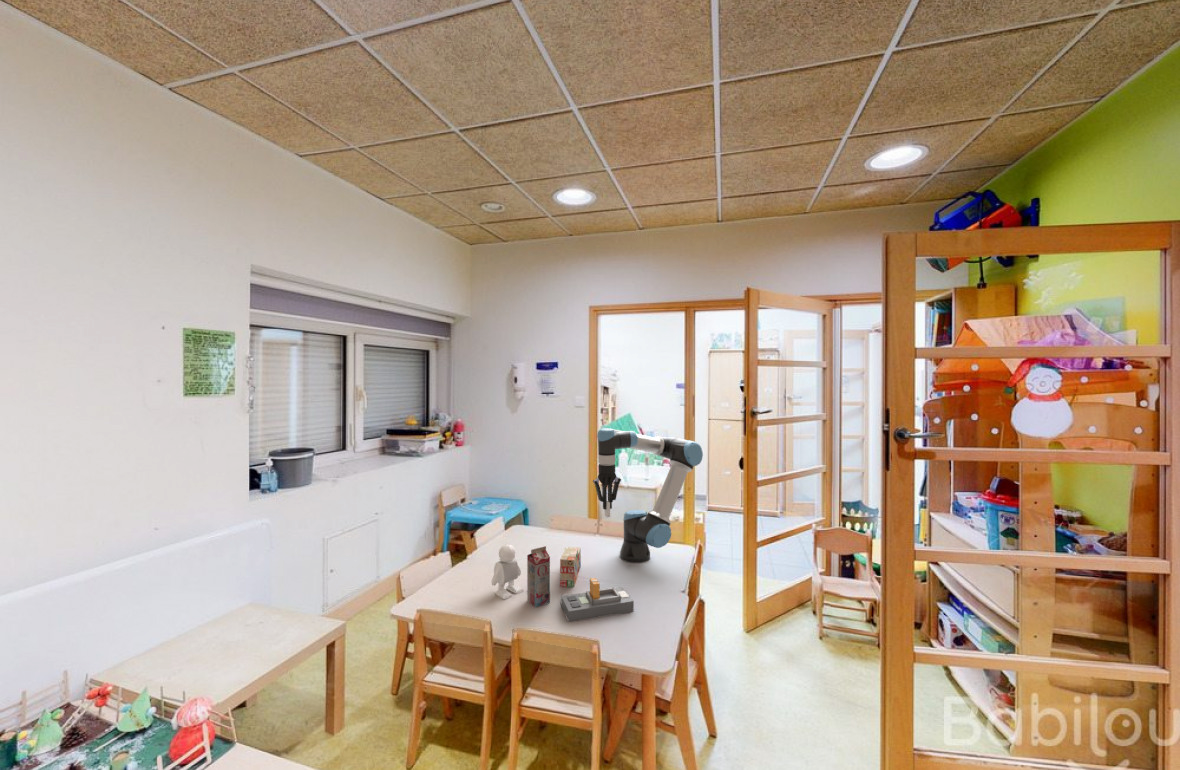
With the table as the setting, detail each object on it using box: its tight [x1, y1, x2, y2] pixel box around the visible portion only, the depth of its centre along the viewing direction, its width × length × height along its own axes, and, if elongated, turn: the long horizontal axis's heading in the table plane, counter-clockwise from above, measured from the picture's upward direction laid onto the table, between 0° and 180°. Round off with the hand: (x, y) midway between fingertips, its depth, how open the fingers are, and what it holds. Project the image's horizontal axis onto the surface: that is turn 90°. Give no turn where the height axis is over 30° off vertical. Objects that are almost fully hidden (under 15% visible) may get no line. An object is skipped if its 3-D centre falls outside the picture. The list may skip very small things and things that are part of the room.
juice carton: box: [526, 545, 551, 608], centre depth 184 cm, size 7×7×22 cm
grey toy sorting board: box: [560, 587, 635, 623], centre depth 179 cm, size 26×12×6 cm, turn 107°
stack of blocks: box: [559, 546, 582, 588], centre depth 207 cm, size 21×6×12 cm, turn 173°
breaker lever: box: [589, 577, 601, 599], centre depth 178 cm, size 2×5×7 cm, turn 17°
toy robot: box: [491, 543, 524, 600], centre depth 192 cm, size 14×9×20 cm, turn 137°
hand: (607, 516), depth 203 cm, fingers closed
